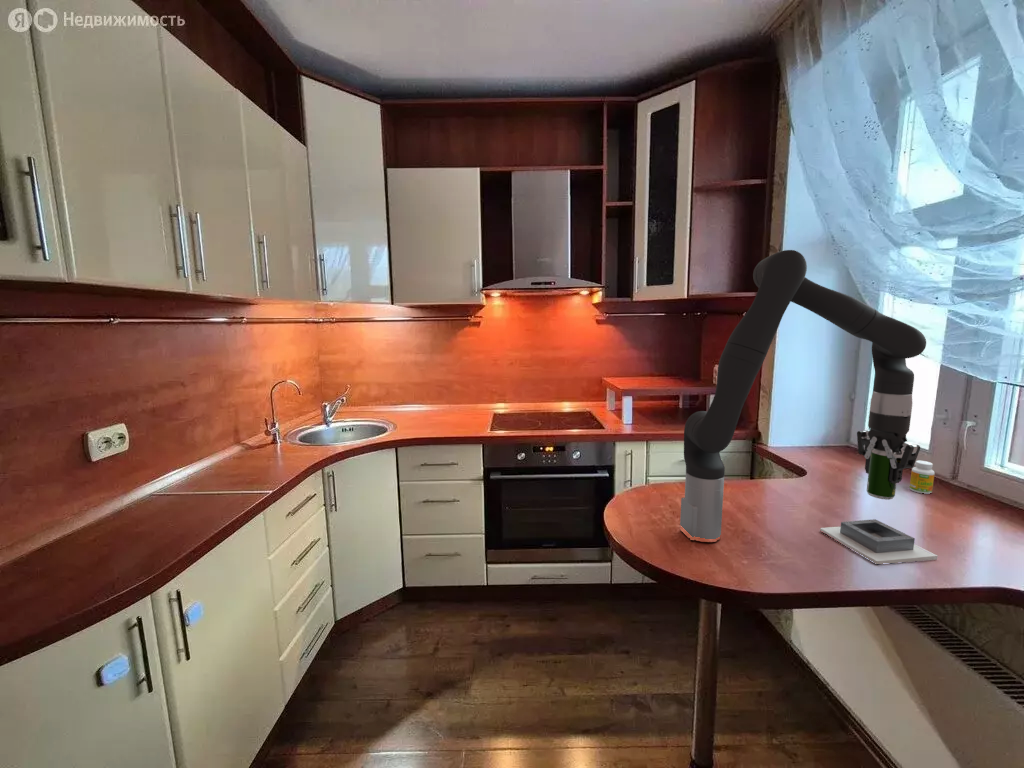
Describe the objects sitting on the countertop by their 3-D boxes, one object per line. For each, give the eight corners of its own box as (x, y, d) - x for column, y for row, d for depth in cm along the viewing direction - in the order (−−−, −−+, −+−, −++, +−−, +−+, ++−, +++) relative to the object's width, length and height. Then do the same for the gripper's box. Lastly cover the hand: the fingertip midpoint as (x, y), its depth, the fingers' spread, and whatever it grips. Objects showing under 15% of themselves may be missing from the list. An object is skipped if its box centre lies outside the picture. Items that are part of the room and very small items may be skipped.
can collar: (876, 553, 103) (877, 541, 102) (840, 532, 112) (841, 522, 112) (913, 549, 104) (914, 538, 103) (874, 529, 114) (875, 519, 113)
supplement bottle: (916, 493, 138) (919, 464, 136) (905, 487, 143) (908, 459, 141) (936, 495, 137) (940, 465, 135) (924, 488, 142) (928, 460, 140)
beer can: (868, 497, 105) (874, 450, 103) (864, 489, 110) (869, 444, 108) (897, 501, 103) (903, 453, 101) (891, 493, 107) (896, 447, 105)
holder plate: (876, 565, 100) (876, 561, 99) (819, 531, 115) (820, 528, 115) (937, 559, 101) (937, 555, 101) (873, 527, 117) (873, 523, 117)
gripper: (849, 405, 110) (842, 468, 112) (906, 418, 95) (897, 490, 98) (875, 404, 110) (868, 467, 113) (936, 417, 96) (926, 488, 99)
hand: (882, 477), depth 106 cm, fingers closed on beer can, 5 cm apart
